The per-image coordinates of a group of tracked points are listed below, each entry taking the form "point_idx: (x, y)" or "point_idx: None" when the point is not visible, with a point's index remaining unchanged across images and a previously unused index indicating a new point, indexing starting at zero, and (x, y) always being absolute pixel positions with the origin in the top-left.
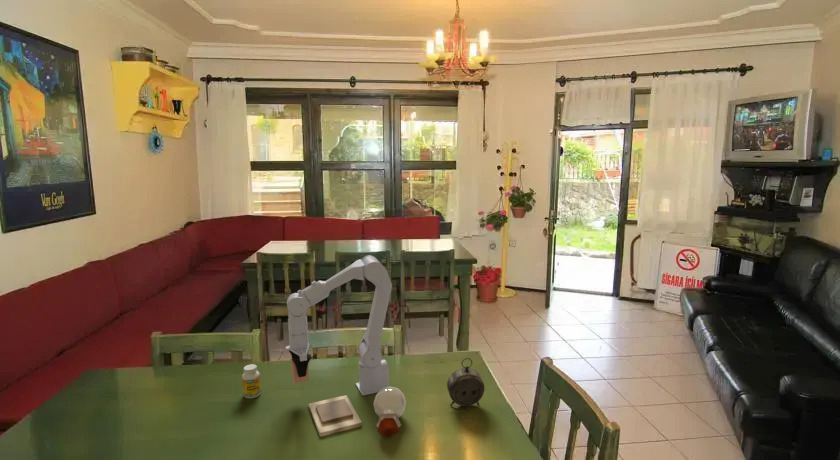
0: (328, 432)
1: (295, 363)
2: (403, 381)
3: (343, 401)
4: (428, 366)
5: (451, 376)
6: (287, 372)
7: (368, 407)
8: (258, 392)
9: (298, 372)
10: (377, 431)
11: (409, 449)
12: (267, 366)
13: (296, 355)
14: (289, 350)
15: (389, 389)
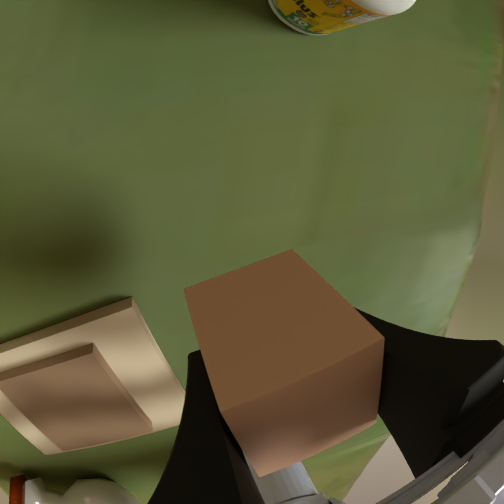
0: None
1: (156, 494)
2: None
3: (132, 430)
4: (315, 487)
5: None
6: (441, 157)
7: (140, 454)
8: (291, 19)
9: (189, 390)
10: (11, 477)
11: (7, 488)
12: (481, 85)
13: (400, 393)
14: (467, 393)
15: None
